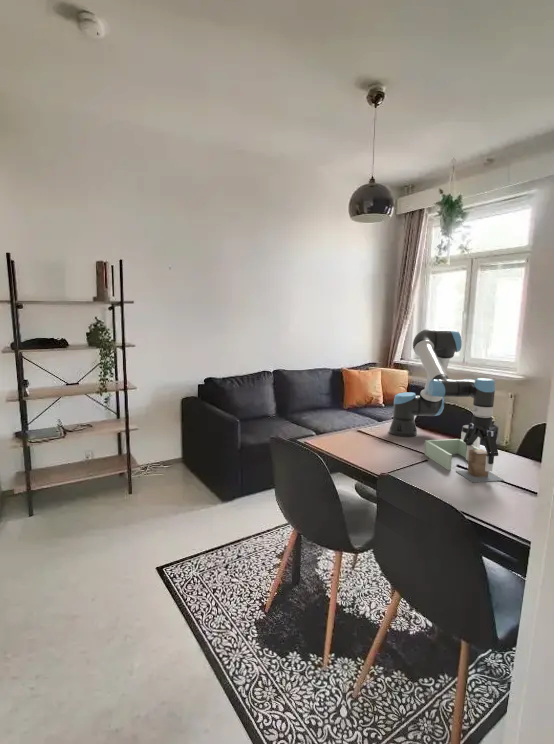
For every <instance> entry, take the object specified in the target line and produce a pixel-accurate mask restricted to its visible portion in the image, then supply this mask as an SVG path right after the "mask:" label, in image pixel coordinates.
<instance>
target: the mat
mask: <svg viewBox="0 0 554 744" xmlns="http://www.w3.org/2000/svg"><path fill="white" fill-rule="evenodd" d="M455 472H456V473H457V474H458V475H460V476H461V477H463V478H465V479H466V480H468V481H469V482H471V483H476V484H477V483H490V482H491V483H493V482H494V483H495V482H505V479H503V478H501V477H499V476H498V475H496V474H494V473H493V472H492V471H488V476H484V477H474V476H473V475H471V474H469V473H468V469H467V470H466V469H464V470H463V469H462V470H455Z"/></svg>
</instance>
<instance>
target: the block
mask: <svg viewBox="0 0 554 744" xmlns="http://www.w3.org/2000/svg"><path fill="white" fill-rule="evenodd" d="M486 455H488V454H487V451H486V450H484V449H481V450H469V460H468V461H467V462H468V463H467V464H468V465H467V470H468V473H469V474H471V475H473V476H474V477H484V476H488V471H485V464H486Z"/></svg>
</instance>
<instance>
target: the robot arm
mask: <svg viewBox="0 0 554 744" xmlns="http://www.w3.org/2000/svg"><path fill="white" fill-rule="evenodd" d="M412 341H413V342H412V349H413V352H414V354H415V355H416V356H417V357H419V359H420V361H421V363H422V365H423V368H424V370H425V372H426V374H427V377H426V380H425V386H424V389H422V390H421V391H420V393H419V395H418V394H417V395H416V392H411V391H409V392H407V391H406V392H399V393H397V394H395V395H394V398H393V415H392V421H391V424H390V426H389V433H390V435H393V434H394V436H398V437H404V438H405V437H406V438H407V437H410V438H411V437H415V436H417V434H418V429H417V425H416V422H415V416H420V417H422V416H423V417H424V416H426V417H435V416H436V417H437V416H440V415H441V414H443V410H444V408H445V398H452V397H454V398H473V405H472V406H473V407H472V414H473V415H472V416H471V422H470V423H469V422H468V425H469V426H468V430H467V432H466V435H465V437H464V440H463V441H464V442H465V443H466V445H467V447H466V458H465V460H466V461H469V450H473V448H474V446H473V445H474V444H473V443H474V441H475V440H476V439H477V438H478V437H479V438H480V441H482V442H483V445H484V448H485V451H486V452H487V454H488V455H486V464H485V471H489V472H493V465H494V459H495V457H499V452H498V451H499V450H498V445H497V440H496V432H495V431H493V430H490V427H491V426H492V425H493V416H494V402H495V394H496V393H495V392H496V381H495V380H494V379H493V378H487V377H486V378H485V377H478V378H476V379H475V378H465V379H450V378H449V376H448V374H447V371H448V366H449V362H450V359H453V358H454V356H455V353H458V352H460V351H461V349H462V345H463V344H462V343H463V341H462V337H461V333H460V331H459V330H457V329H455V328H454V329H453V328H426V329H422V330H421V331H419V332H418V333H417V334H416V335H415V336H414V339H413V340H412Z"/></svg>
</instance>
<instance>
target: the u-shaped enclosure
mask: <svg viewBox="0 0 554 744" xmlns="http://www.w3.org/2000/svg"><path fill="white" fill-rule="evenodd" d="M466 447H467V445H466V443H465V442H464V441H463V440H461V438H453V439H452V438H448V439H425V440H424V448H423V449H424V450H423V454H424V455H425V456H427V457H428V458H429V459H431V460H432V461H434V462H435V463H437V464H438V465H440V466H442V467H443V468H445V469H446V470H447V471H451V470H452V460H453V455H454V454H456V455H457V454H458V455H460V456H461V457H463V458H465V459H466ZM473 450H481V449H480V448H477V447H475V446H474V448H473Z"/></svg>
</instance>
